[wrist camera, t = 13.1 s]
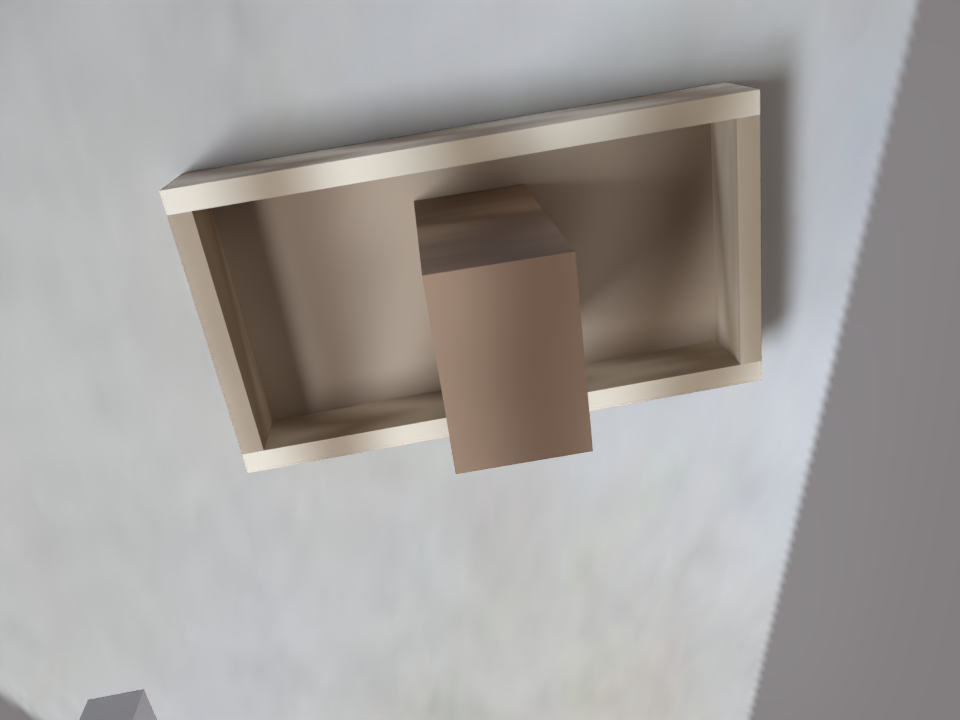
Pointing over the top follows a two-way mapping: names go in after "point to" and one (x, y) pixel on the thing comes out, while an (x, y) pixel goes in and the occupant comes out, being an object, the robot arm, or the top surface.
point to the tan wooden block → (504, 328)
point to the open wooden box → (398, 277)
